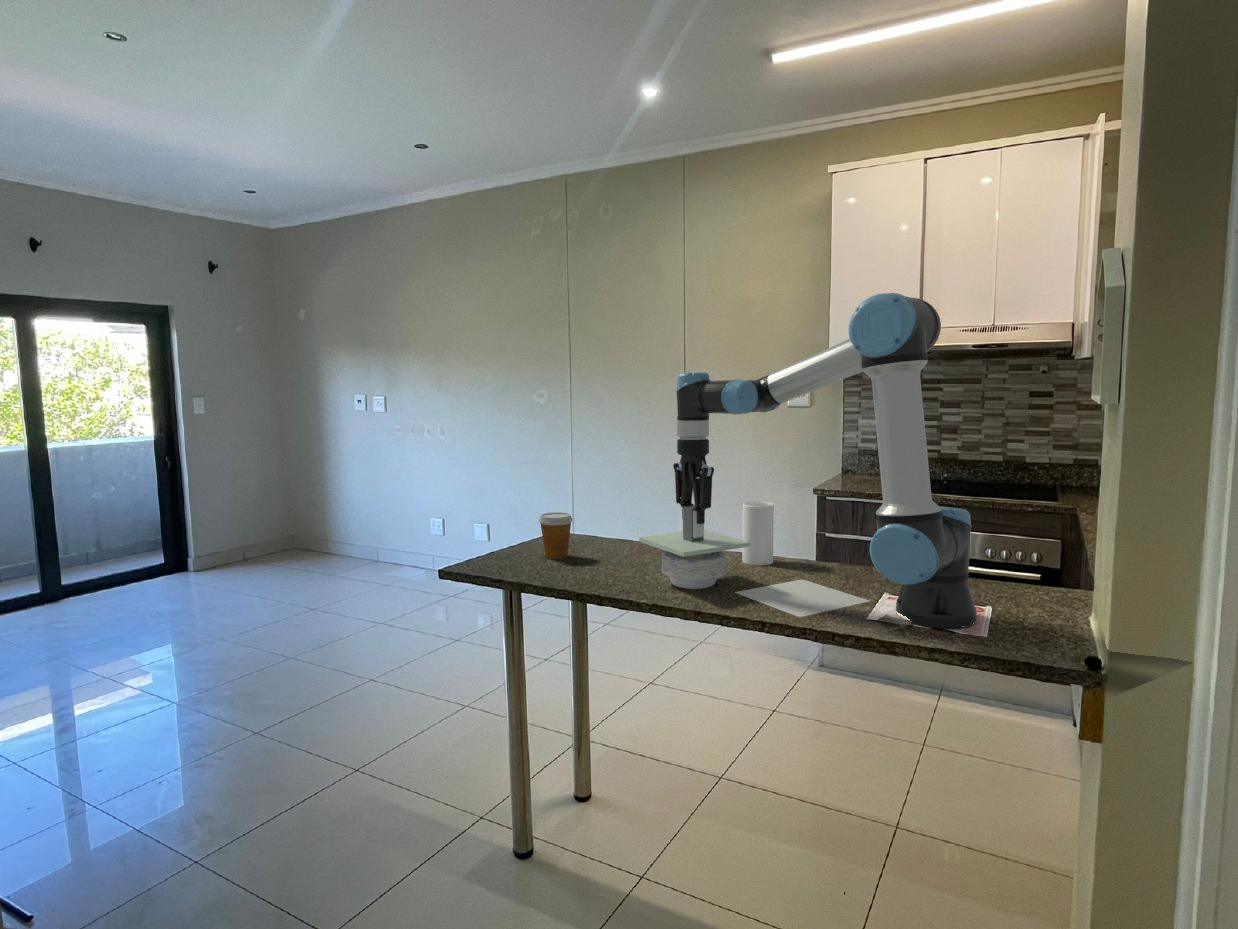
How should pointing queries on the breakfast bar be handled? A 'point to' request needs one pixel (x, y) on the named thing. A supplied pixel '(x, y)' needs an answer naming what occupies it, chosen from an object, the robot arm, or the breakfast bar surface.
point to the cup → (758, 533)
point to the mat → (802, 597)
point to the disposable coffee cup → (556, 534)
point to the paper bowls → (693, 569)
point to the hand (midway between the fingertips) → (693, 535)
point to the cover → (692, 539)
